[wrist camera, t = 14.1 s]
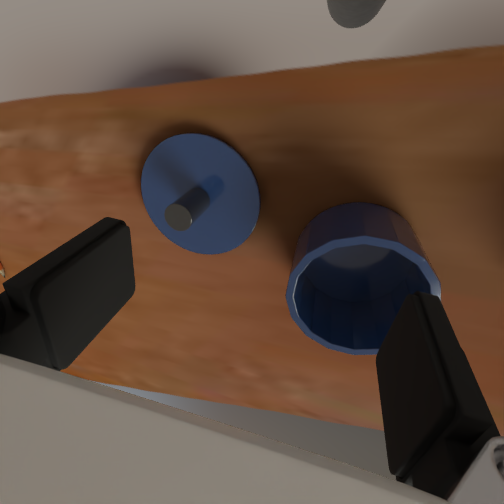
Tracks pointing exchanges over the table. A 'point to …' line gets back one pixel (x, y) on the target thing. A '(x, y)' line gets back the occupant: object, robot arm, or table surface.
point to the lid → (200, 193)
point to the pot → (356, 276)
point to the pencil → (2, 270)
